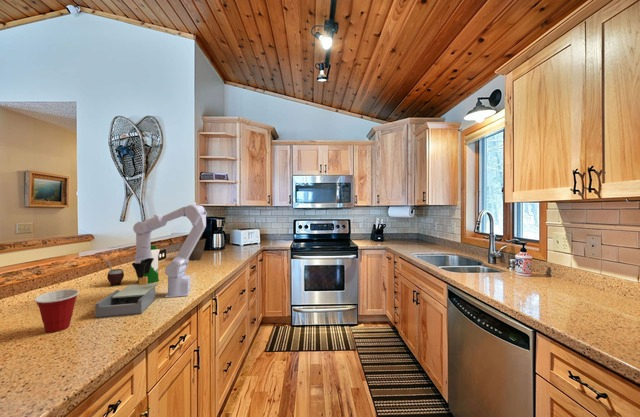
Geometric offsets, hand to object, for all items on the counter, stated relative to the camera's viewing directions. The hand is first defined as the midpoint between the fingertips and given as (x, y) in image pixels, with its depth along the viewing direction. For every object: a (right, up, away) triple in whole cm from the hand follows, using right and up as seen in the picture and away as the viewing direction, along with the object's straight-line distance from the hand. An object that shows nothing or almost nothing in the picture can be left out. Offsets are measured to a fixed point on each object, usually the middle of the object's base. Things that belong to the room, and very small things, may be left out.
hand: (143, 275), depth 124 cm
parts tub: (+5, -9, -16) cm, 19 cm away
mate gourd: (-25, -9, +15) cm, 31 cm away
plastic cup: (-5, -9, -35) cm, 37 cm away
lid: (+2, -5, -7) cm, 9 cm away
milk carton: (-12, -9, +21) cm, 26 cm away
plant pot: (-16, -9, +85) cm, 87 cm away
